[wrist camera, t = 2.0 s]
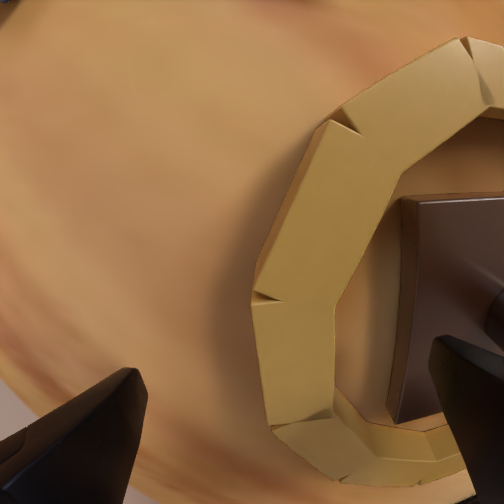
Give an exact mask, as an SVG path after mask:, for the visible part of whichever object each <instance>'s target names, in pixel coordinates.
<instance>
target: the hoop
mask: <svg viewBox="0 0 504 504" xmlns="http://www.w3.org/2000/svg"><path fill="white" fill-rule="evenodd" d="M478 116H480V117H488V118H495V119H502V120H504V47H502V46H499V45H496V44H493V43H490V42H486V41H483V40H479V39H475V38H472V37H468V36H466V37H464V38H462V39H460V40H459V39H458V38H453V39H451V40H449V41H448V42H446V43H444V44H442V45H440V46H438V47H437V48H435V49H433V50H431V51H429V52H428V53H426V54H424V55H422V56H421V57H419V58H417V59H415V60H414V61H412V62H410V63H409V64H407V65H405V66H403V67H402V68H400V69H398V70H397V71H395V72H393V73H392V74H390V75H388V76H387V77H385V78H384V79H382V80H380V81H379V82H377V83H375V84H374V85H372V86H371V87H369V88H367V89H366V90H364V91H363V92H361V93H359V94H358V95H356V96H355V97H353V98H352V99H350V100H349V101H347V102H346V103H344V104H342V105H341V106H340V107H338V108H337V109H336V110H334V111H333V112H332V113H330V114H329V115H328V116H327V117H326V118H325V120H326V122H325V123H324V124H322V125H321V126H319V127H318V128H317V129H315V132H314V134H313V136H312V138H311V141H310V143H309V145H308V147H307V150H306V152H305V154H304V156H303V159H302V161H301V163H300V165H299V168H298V170H297V172H296V174H295V177H294V179H293V181H292V183H291V186H290V188H289V190H288V192H287V194H286V197H285V199H284V201H283V203H282V206H281V208H280V210H279V212H278V215H277V217H276V219H275V221H274V223H273V226H272V228H271V230H270V232H269V235H268V237H267V239H266V241H265V243H264V246H263V248H262V250H261V252H260V255H259V257H258V259H257V261H256V266H255V274H254V278H253V286H252V293H251V301H250V309H251V317H252V324H253V331H254V338H255V345H256V352H257V359H258V366H259V373H260V380H261V387H262V393H263V400H264V407H265V414H266V421H267V424H268V425H272V433H273V434H274V435H275V436H277V437H278V438H279V439H280V440H281V441H283V442H284V443H285V444H286V445H287V446H289V447H290V448H291V449H292V450H293V451H295V452H296V453H297V454H298V455H300V456H301V457H302V458H303V459H305V460H306V461H307V462H309V463H310V464H311V465H312V466H314V467H315V468H316V469H318V470H319V471H320V472H322V473H323V474H324V475H326V476H327V477H328V478H330V479H331V480H332V481H335V480H338V479H339V482H340V483H343V484H354V485H366V486H384V487H413V486H414V485H415V484H417V483H418V485H423V484H426V483H429V482H432V481H435V480H438V479H441V478H443V477H446V476H449V475H451V474H454V473H457V472H459V471H462V470H464V469H466V465H465V463H464V460H463V458H462V455H461V453H460V450H459V448H458V446H457V443H456V441H455V439H454V436H453V434H452V432H451V429H450V427H449V425H445V426H442V427H438V428H435V429H432V430H429V431H425V432H419V431H412V430H406V429H400V428H394V427H388V426H383V425H378V424H373V423H368V422H366V421H365V420H364V419H363V418H362V417H361V416H360V414H359V413H358V412H357V411H356V410H355V408H354V407H353V406H352V405H351V404H350V402H349V401H348V400H347V399H346V398H345V397H344V395H343V394H342V393H341V392H340V391H339V389H338V388H337V387H336V386H335V385H334V381H335V306H336V305H337V303H338V301H339V299H340V297H341V296H342V294H343V292H344V290H345V288H346V287H347V285H348V283H349V281H350V279H351V277H352V275H353V274H354V272H355V270H356V268H357V266H358V264H359V262H360V260H361V258H362V256H363V254H364V252H365V250H366V248H367V246H368V244H369V242H370V240H371V238H372V236H373V234H374V232H375V230H376V228H377V226H378V224H379V222H380V220H381V218H382V216H383V214H384V211H385V209H386V207H387V205H388V203H389V201H390V198H391V196H392V194H393V192H394V189H395V187H396V185H397V183H398V180H399V178H400V176H401V174H402V173H403V172H405V171H406V170H407V169H409V168H410V167H412V166H413V165H414V164H416V163H417V162H418V161H420V160H421V159H422V158H424V157H425V156H426V155H428V154H429V153H430V152H432V151H433V150H434V149H436V148H437V147H438V146H440V145H441V144H442V143H444V142H445V141H446V140H448V139H449V138H450V137H452V136H453V135H454V134H456V133H457V132H458V131H460V130H461V129H462V128H464V127H465V126H466V125H468V124H469V123H470V122H472V121H473V120H474V119H475V118H477V117H478Z"/></svg>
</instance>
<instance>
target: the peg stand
mask: <svg viewBox="0 0 504 504" xmlns="http://www.w3.org/2000/svg"><path fill="white" fill-rule="evenodd" d="M401 215H402V263H401V288H400V304H399V317H398V328H397V338H396V347H395V355H394V363H393V370H392V377H391V383H390V389H389V395H388V401H387V407H388V410H389V412H390V415H391V417H392V420H393V422H394V424H400V423H404V422H408V421H412V420H416V419H419V418H423V417H427V416H430V415H433V414H437V413H440V412H443V410H442V408H441V405H440V401H439V398H438V395H437V393H436V390H435V387H434V384H433V381H432V378H431V375H430V373H429V369H428V360H429V355H430V350H431V345H432V341H433V339H434V338H435V337H437V336H441V335H446V334H448V335H451V336H453V337H456V338H458V339H461V340H463V341H466V342H468V343H471V344H473V345H476V346H478V347H481V348H483V349H486V350H488V351H491V352H493V353H496V354H498V355H501V356H503V357H504V192H476V193H451V194H431V195H413V196H403V197H401Z"/></svg>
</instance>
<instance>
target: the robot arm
mask: <svg viewBox="0 0 504 504" xmlns="http://www.w3.org/2000/svg"><path fill="white" fill-rule="evenodd" d="M428 369H429V373H430V375H431V378H432V381H433V384H434V387H435V390H436V393H437V395H438V398H439V401H440V405H441V408H442V410H443V413H444V416H445V418H446V420H447V423H448V425H449V427H450V429H451V432H452V434H453V436H454V439H455V441H456V443H457V446H458V448H459V450H460V453H461V455H462V458H463V460H464V463H465V465H466V468H467V470H468V473H469V475H470V478H471V481H472V483H473V486H474V489H475V492H476V494H477V496H475V497H473V498H471V499H468V500H466V501H464V502H461V503H459V504H504V357H503V356H501V355H498V354H496V353H493V352H491V351H488V350H486V349H483V348H481V347H478V346H476V345H473V344H471V343H468V342H466V341H463V340H461V339H458V338H456V337H453V336H451V335H448V334H446V335H441V336H437V337H435V338H434V339H433V341H432V345H431V350H430V355H429V360H428ZM147 401H148V393H147V389H146V387H145V384H144V382H143V379H142V377H141V374H140V372H139V370H138V369H136V368H126V367H125V368H121V369H120V370H118V371H117V372H115V373H113V374H112V375H110V376H109V377H107V378H105V379H104V380H102V381H101V382H99V383H97V384H96V385H94V386H93V387H91V388H89V389H88V390H86V391H85V392H83V393H81V394H80V395H78V396H76V397H75V398H73V399H72V400H70V401H68V402H67V403H65V404H63V405H62V406H60V407H58V408H57V409H55V410H53V411H52V412H50V413H48V414H47V415H45V416H43V417H42V418H40V419H38V420H37V421H35V422H33V423H32V424H30V425H28V427H25V428H23V429H21V430H20V431H18V432H16V433H15V434H13V435H11V436H9V437H7V438H6V439H4V440H2V441H0V504H123V500H124V496H125V493H126V489H127V486H128V482H129V479H130V475H131V472H132V468H133V465H134V461H135V458H136V454H137V451H138V447H139V444H140V439H141V433H142V428H143V422H144V416H145V411H146V406H147Z"/></svg>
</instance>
